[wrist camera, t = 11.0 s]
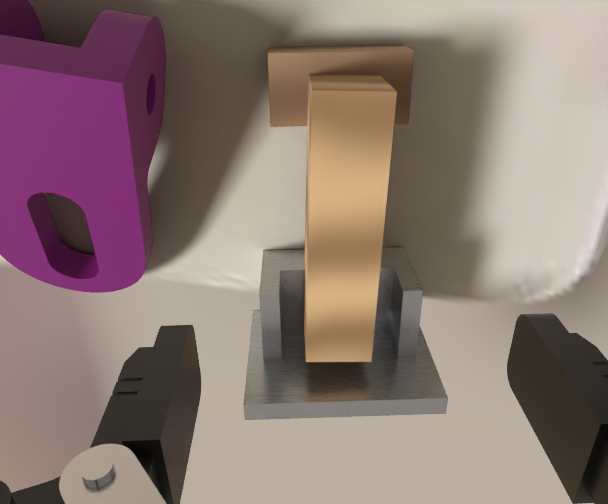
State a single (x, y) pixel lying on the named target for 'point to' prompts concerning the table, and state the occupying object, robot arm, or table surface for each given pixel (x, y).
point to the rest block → (333, 61)
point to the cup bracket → (339, 375)
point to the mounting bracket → (79, 144)
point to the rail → (345, 212)
